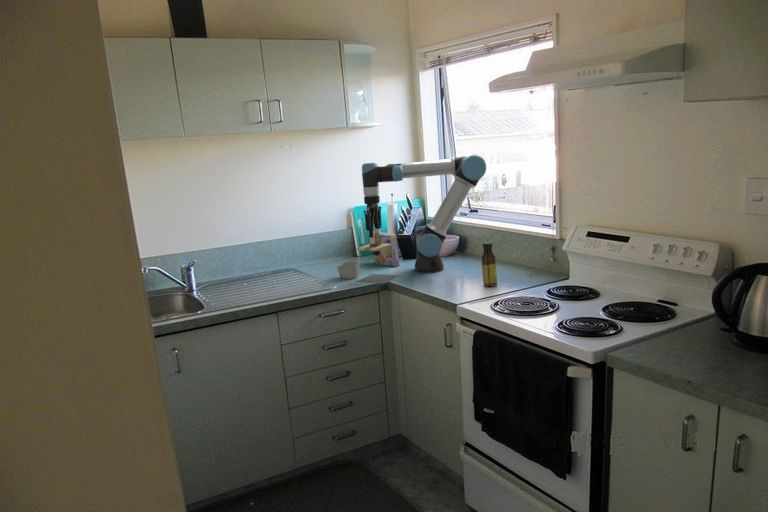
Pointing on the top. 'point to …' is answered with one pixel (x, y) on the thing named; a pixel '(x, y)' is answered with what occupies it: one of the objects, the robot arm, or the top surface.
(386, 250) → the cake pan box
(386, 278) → the mat
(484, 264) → the sauce bottle
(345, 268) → the teacup
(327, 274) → the top surface
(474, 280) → the top surface
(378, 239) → the lid
